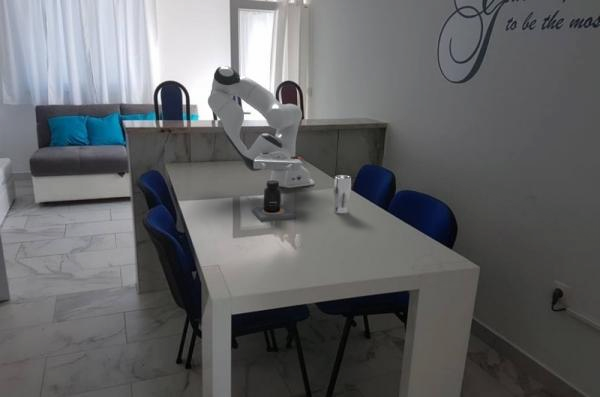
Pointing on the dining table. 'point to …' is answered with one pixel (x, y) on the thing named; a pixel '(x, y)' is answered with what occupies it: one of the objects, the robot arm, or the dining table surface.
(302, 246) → the dining table surface
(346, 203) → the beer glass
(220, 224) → the dining table surface
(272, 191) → the supplement bottle
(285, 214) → the mat
